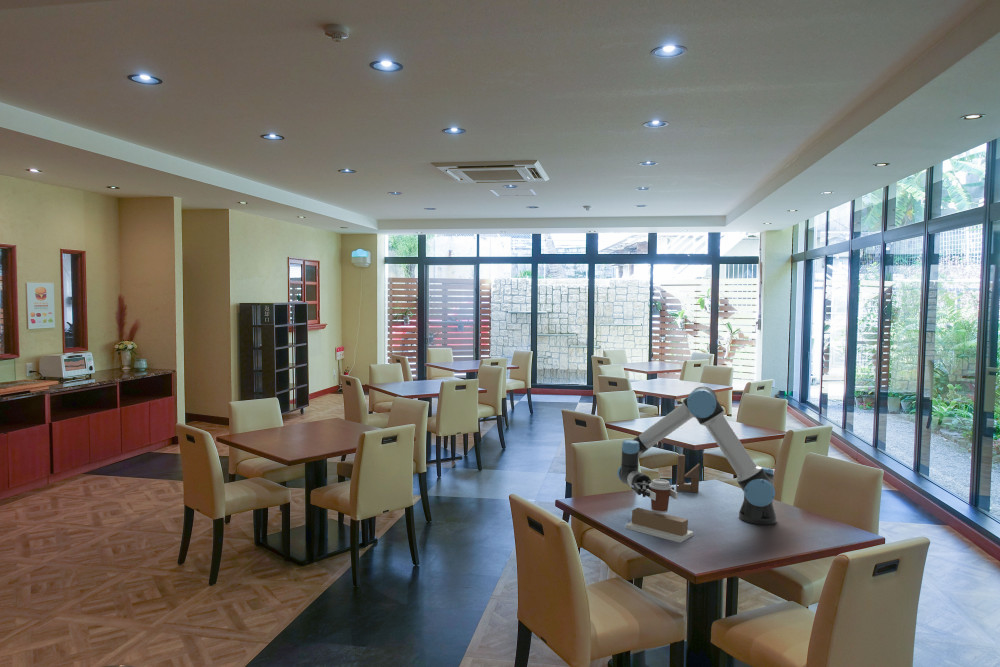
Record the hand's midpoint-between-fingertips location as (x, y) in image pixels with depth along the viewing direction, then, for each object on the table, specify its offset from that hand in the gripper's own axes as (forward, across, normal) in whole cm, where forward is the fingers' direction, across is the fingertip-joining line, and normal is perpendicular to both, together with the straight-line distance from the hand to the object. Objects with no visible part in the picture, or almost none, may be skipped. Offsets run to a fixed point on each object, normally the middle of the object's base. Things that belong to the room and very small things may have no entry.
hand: (665, 496), depth 259 cm
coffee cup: (-5, 0, -7) cm, 9 cm away
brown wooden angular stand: (-58, -46, -16) cm, 76 cm away
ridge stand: (-4, 0, -16) cm, 16 cm away
